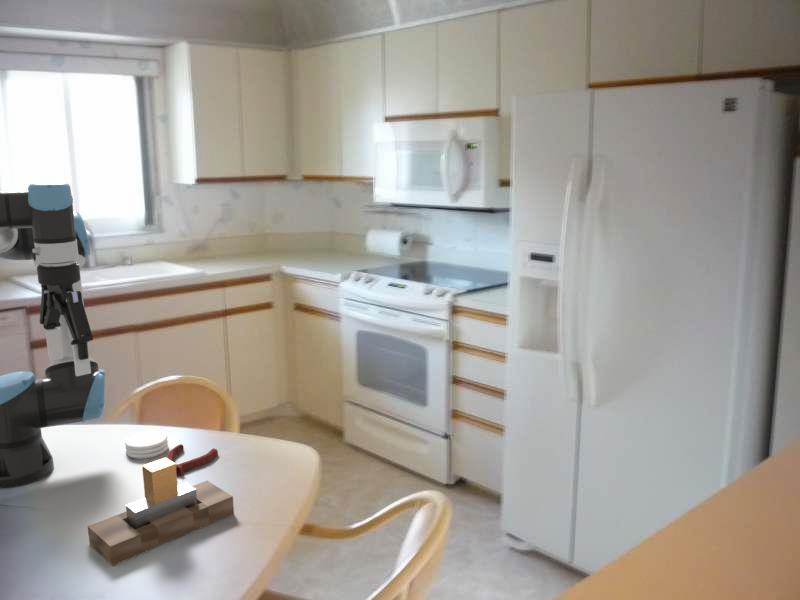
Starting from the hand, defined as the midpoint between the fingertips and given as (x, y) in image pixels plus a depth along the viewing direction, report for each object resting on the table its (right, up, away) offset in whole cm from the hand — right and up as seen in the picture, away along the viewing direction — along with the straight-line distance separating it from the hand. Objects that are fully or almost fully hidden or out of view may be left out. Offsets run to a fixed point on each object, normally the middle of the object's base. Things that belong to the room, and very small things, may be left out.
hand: (69, 366), depth 146 cm
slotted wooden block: (+19, -33, 0) cm, 38 cm away
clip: (+19, -33, 0) cm, 38 cm away
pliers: (+13, -27, +27) cm, 40 cm away
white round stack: (+3, -25, +36) cm, 43 cm away
